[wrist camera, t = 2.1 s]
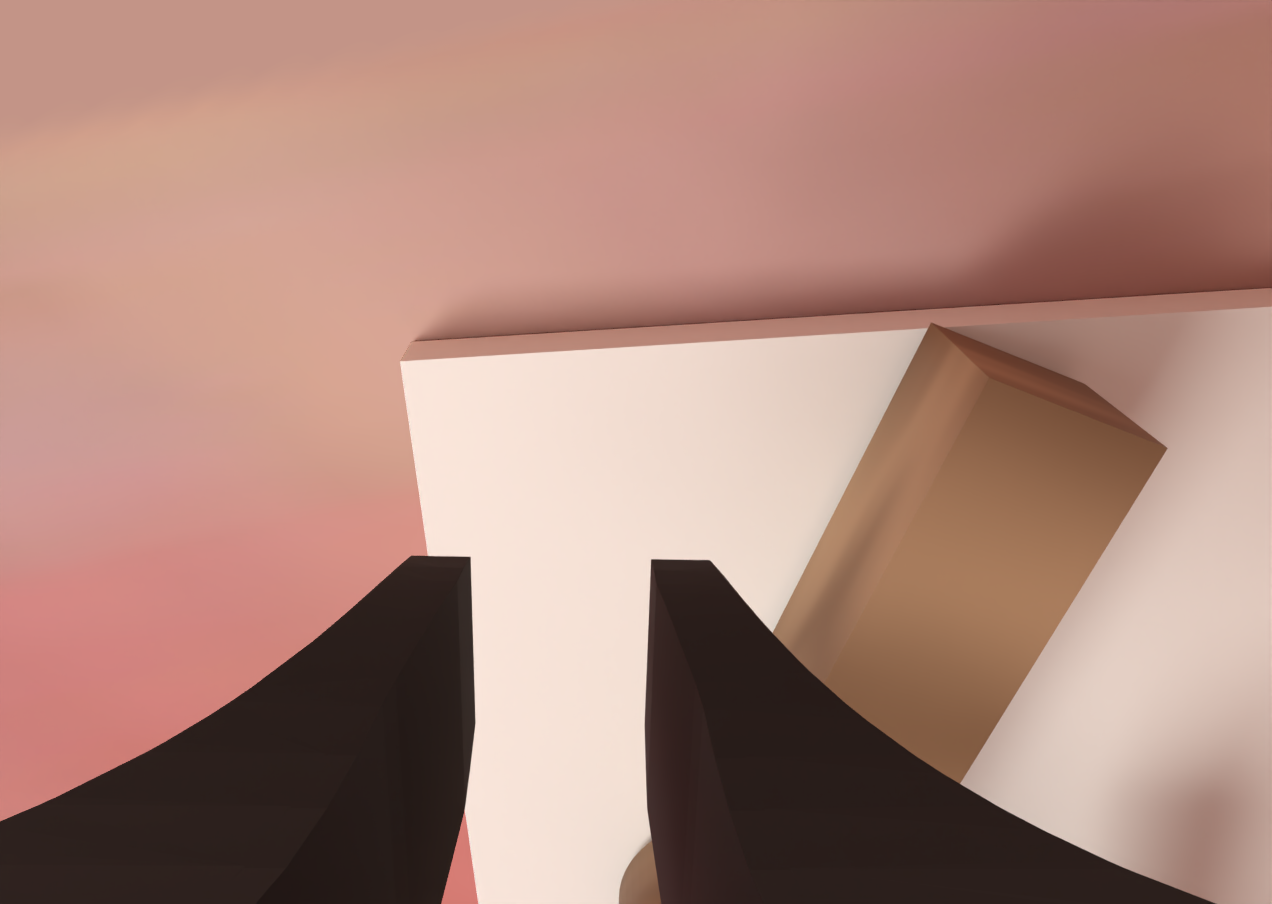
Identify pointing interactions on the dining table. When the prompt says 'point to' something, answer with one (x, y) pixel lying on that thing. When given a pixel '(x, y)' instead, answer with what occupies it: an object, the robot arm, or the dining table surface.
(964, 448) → the walnut link
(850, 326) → the white plate
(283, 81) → the dining table surface
